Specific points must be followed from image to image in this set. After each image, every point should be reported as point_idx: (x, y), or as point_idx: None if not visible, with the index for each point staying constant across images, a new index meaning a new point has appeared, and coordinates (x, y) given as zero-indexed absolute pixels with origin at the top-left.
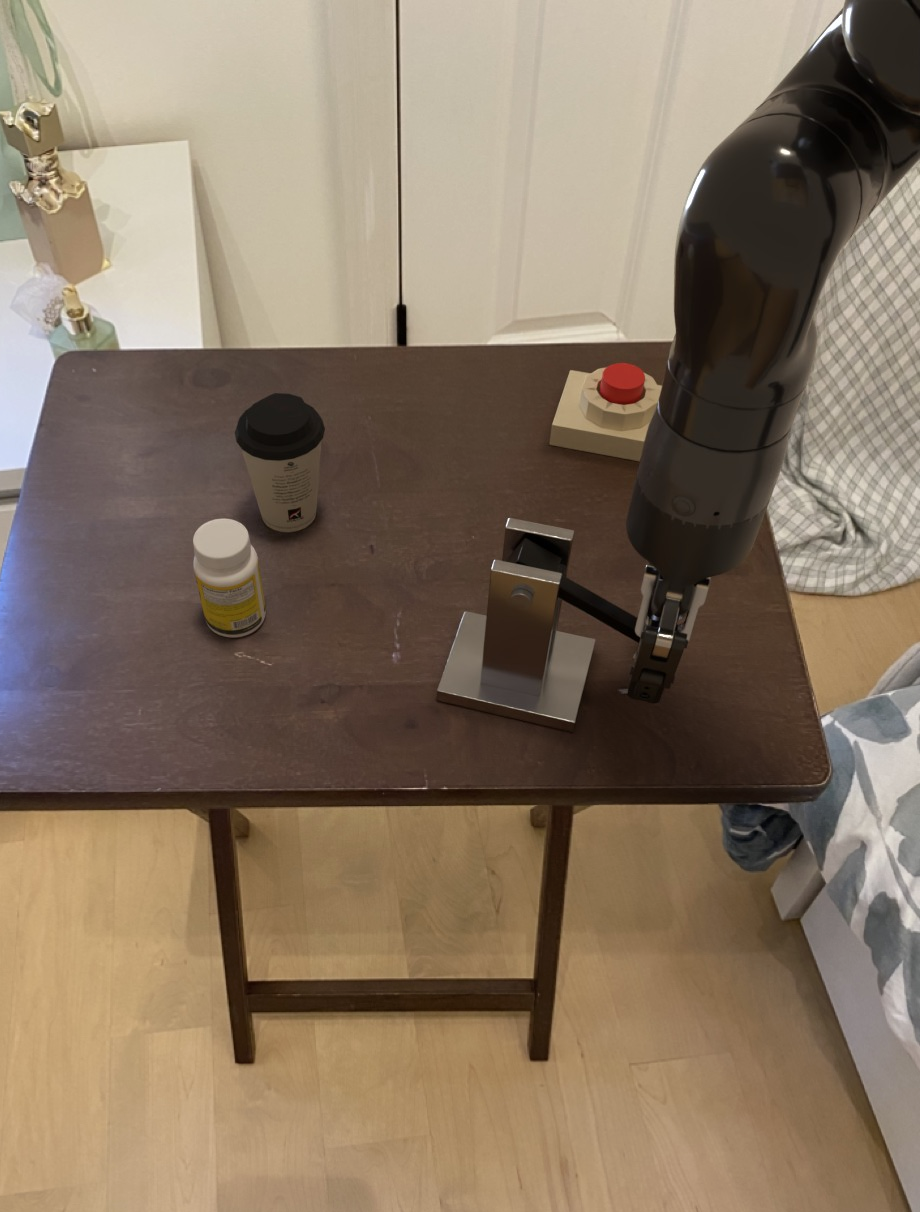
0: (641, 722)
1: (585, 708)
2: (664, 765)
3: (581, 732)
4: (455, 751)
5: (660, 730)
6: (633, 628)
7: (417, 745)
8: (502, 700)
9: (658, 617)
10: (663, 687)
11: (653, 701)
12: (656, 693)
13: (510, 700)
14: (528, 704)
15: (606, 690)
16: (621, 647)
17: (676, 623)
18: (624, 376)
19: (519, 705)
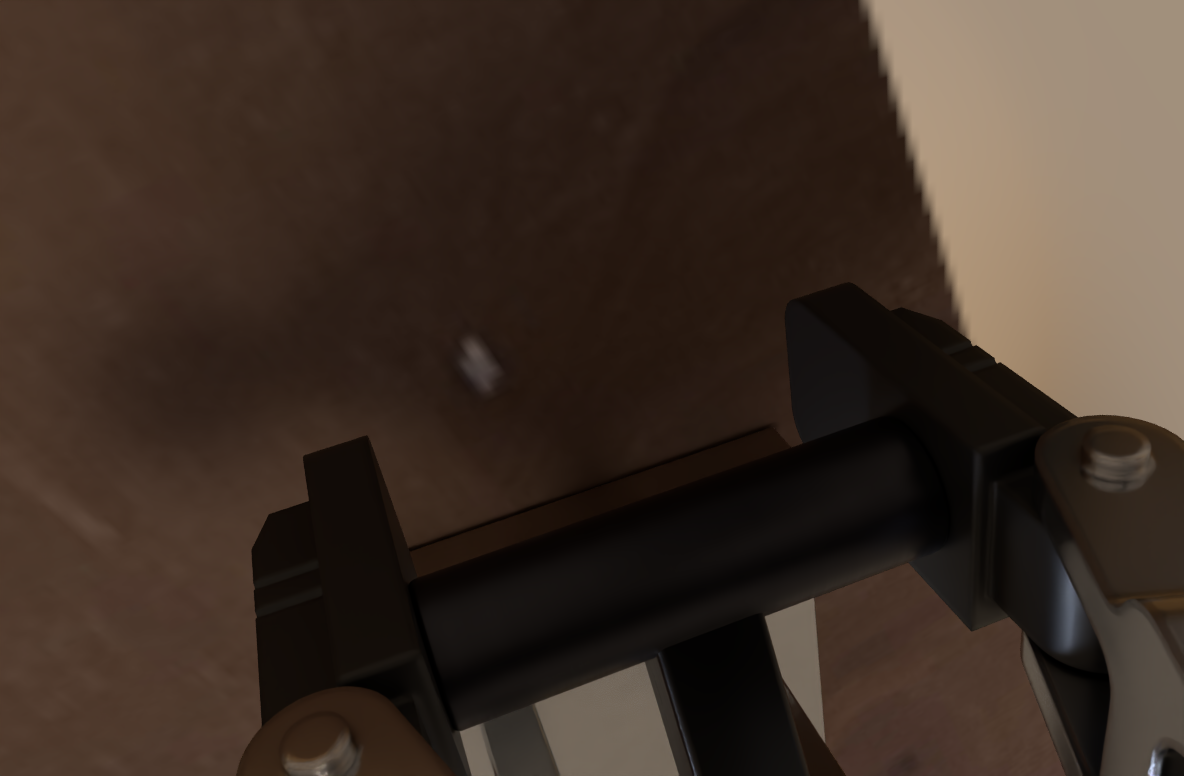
0: (611, 230)
1: (643, 445)
2: (794, 37)
3: (757, 400)
4: (955, 642)
5: (616, 136)
6: (806, 764)
7: (963, 716)
8: (798, 682)
9: (557, 689)
10: (922, 341)
11: (939, 323)
12: (986, 355)
13: (789, 665)
14: (786, 619)
15: (516, 428)
16: (241, 498)
17: (391, 533)
18: None
19: (799, 635)
